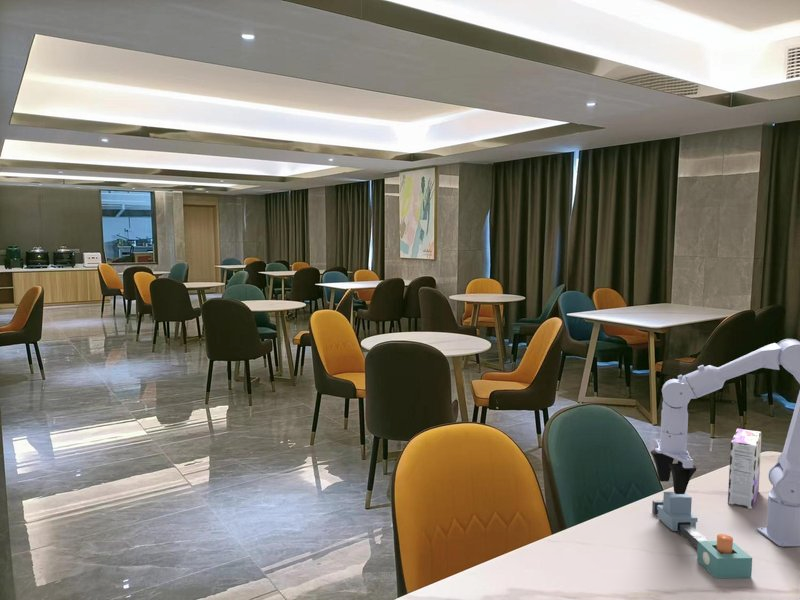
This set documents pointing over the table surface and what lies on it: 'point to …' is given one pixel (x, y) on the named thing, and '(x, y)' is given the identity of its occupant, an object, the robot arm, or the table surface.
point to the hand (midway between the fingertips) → (671, 487)
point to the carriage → (676, 510)
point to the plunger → (724, 544)
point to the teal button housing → (724, 561)
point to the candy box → (744, 468)
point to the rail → (683, 528)
